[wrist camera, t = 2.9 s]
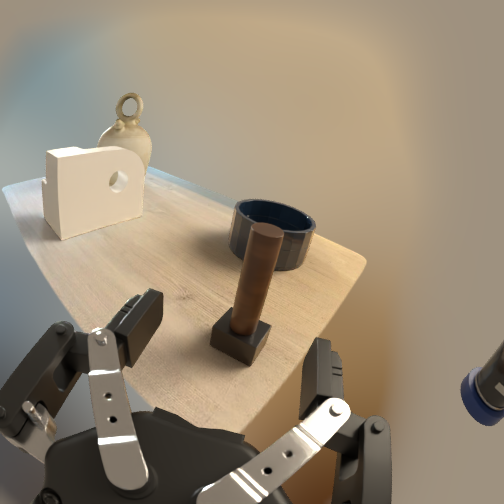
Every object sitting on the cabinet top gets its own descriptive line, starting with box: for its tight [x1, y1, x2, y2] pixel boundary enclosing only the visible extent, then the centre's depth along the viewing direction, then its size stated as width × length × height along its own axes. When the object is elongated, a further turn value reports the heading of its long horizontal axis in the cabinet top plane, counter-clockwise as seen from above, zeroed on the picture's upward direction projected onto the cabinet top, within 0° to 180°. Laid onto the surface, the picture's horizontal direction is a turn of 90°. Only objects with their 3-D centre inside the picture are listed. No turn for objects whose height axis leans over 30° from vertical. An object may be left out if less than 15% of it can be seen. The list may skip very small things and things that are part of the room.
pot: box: [228, 199, 316, 271], centre depth 50 cm, size 14×14×7 cm
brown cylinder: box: [210, 223, 284, 366], centre depth 26 cm, size 5×4×14 cm
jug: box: [97, 93, 152, 187], centre depth 63 cm, size 15×16×25 cm
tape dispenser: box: [42, 146, 145, 240], centre depth 45 cm, size 18×12×14 cm, turn 146°
